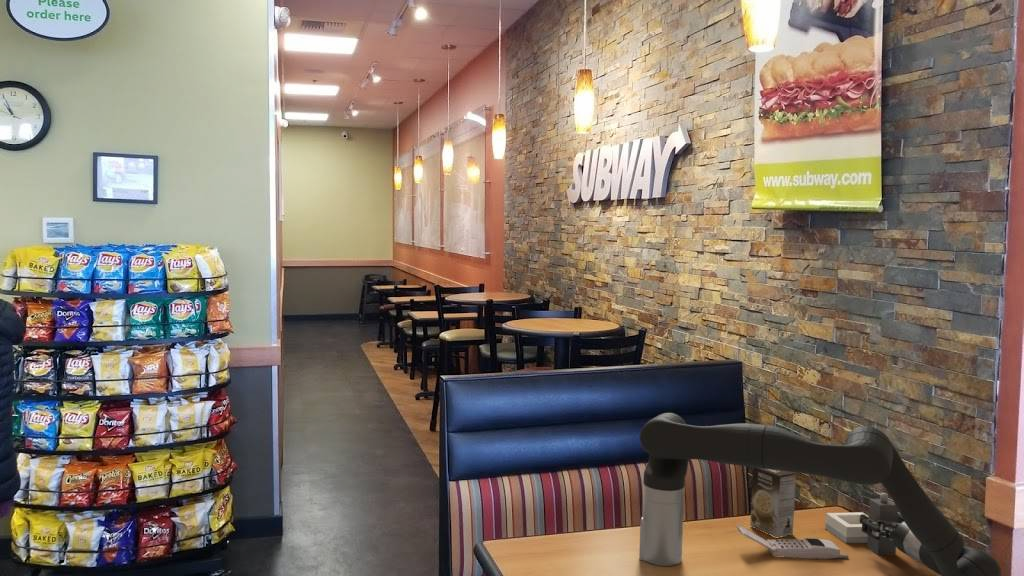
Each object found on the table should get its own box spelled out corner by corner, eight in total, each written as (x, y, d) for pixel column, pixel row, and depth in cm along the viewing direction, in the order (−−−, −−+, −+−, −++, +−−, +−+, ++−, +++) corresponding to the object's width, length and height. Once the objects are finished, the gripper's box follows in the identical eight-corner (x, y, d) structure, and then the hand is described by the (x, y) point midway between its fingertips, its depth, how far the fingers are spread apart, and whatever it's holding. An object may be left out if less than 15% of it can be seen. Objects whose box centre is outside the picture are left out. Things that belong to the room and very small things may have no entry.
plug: (877, 555, 187) (880, 496, 186) (867, 547, 191) (870, 490, 191) (895, 554, 187) (898, 496, 187) (884, 547, 192) (887, 490, 191)
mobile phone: (735, 524, 190) (840, 526, 189) (734, 548, 190) (839, 550, 190) (742, 533, 184) (850, 536, 183) (741, 558, 184) (849, 561, 184)
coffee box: (748, 527, 204) (751, 465, 203) (766, 523, 207) (769, 462, 206) (776, 539, 195) (779, 475, 195) (794, 535, 199) (797, 472, 198)
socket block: (845, 543, 194) (846, 527, 194) (825, 528, 204) (825, 513, 204) (884, 542, 195) (885, 526, 195) (861, 527, 205) (862, 512, 205)
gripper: (951, 526, 175) (906, 502, 191) (891, 527, 174) (851, 503, 190) (949, 559, 176) (905, 532, 192) (889, 561, 174) (849, 533, 190)
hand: (878, 517), depth 191 cm, fingers open, 8 cm apart
